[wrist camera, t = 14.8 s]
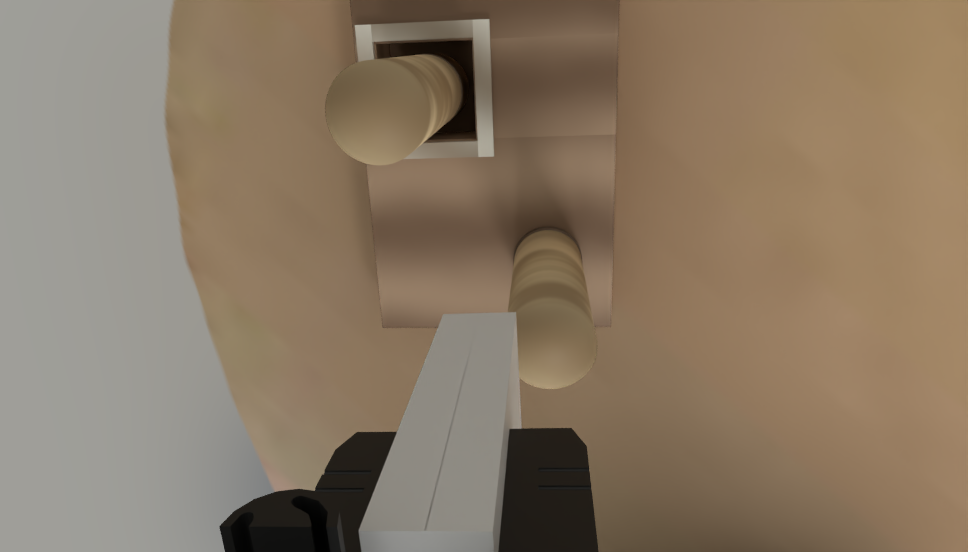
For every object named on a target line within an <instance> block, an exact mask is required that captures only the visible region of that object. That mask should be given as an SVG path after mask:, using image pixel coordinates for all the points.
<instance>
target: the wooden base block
mask: <svg viewBox="0 0 968 552" xmlns="http://www.w3.org/2000/svg"><path fill="white" fill-rule="evenodd" d="M350 7H351V17H352V27H353V37H354V47H355V57H356V63H357V62H360V61H364V60H373V59H383V58H390V49H389V44H397V43H420V42H442V41H465V40H472V54H473V77H474V100H475V122H476V131H475V132H443V133H434V134H433V135H432V136H431V137H430V138H428V139H427V140H426V141H425V142H424V143H423V144H421V145H420V146H419V147H418V148H417V149H416V150H414V151H413V152H412V153H411V154H410V155H408V156H407V157H406V158H404V159H402V160H400V161H398V162H396V163H393V164H389V165H370V164H366V167H367V177H368V187H369V197H370V207H371V217H372V227H373V237H374V247H375V257H376V267H377V277H378V287H379V297H380V307H381V317H382V327H383V328H438V326H439V324H440V321H441V319H442V316H443V314H464V313H503V312H516V323H517V343H518V363H519V378H520V379H521V380H522V381H524V382H526V383H527V384H530V385H532V386H535V387H538V388H543V389H558V388H563V387H567V386H570V385H572V384H574V383H576V382H577V381H579V380H580V379H582V378H583V377H584V376H585V375H586V374H587V373H588V372H589V370H590V369H591V367H592V366H593V364H594V361H595V359H596V355H597V339H596V334H595V328H594V327H611V312H612V272H613V233H614V194H615V154H616V115H617V76H618V36H619V0H350Z"/></svg>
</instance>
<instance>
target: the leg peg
mask: <svg viewBox="0 0 968 552" xmlns="http://www.w3.org/2000/svg"><path fill="white" fill-rule="evenodd" d="M468 92H469V84H468V79H467V76H466V73H465V71H464V69H463V68H462V67H461V65H460V64H459V63H458V62H457V61H456V60H454V59H453V58H451V57H449V56H447V55H444V54H439V53H431V54H418V55H412V56H402V57H393V58H383V59H373V60H364V61H360V62H357V63H355V64H352V65H350V66H349V67H347V68H345V69H344V70H343V71H342V72H341V73H340V74H339V75H338V76H337V77H336V78H335V80H334V81H333V83H332V85H331V87H330V88H329V91H328V94H327V98H326V106H325V113H326V120H327V124H328V128H329V130H330V133H331V135H332V137H333V138H334V140H335V142H336V143H337V144H338V145H339V147H340V148H341V149H342V150H343V151H344V152H345V153H347V154H348V155H349V156H351V157H352V158H354V159H356V160H358V161H360V162H363V163H366V164H370V165H389V164H393V163H396V162H398V161H400V160H402V159H404V158H406V157H407V156H408V155H410V154H411V153H412V152H413V151H414V150H416V149H417V148H418V147H419V146H420V145H421V144H423V143H424V142H425V141H426V140H427V139H428V138H430V137H431V136H432V135H433V134H434V133H435V132H437V131H438V130H439V129H440V128H441V127H442V126H444V125H445V124H446V123H448V122H449V121H450V120H451V119H452V118H453V117H454V116H455V115H457V114H458V113H459V112H460V111H461V109H462V108H463V107H464V105H465V103H466V101H467V97H468Z"/></svg>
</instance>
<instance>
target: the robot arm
mask: <svg viewBox="0 0 968 552" xmlns="http://www.w3.org/2000/svg"><path fill="white" fill-rule="evenodd" d="M220 531H221V535H222V539H223V544H224V549H225V552H598V544H597V535H596V526H595V517H594V508H593V499H592V491H591V482H590V473H589V464H588V455H587V446H586V445H585V444H584V443H583V441H582V440H581V439H580V438H579V437H578V435H577V434H576V433H575V432H574V431H573V430H572V428H537V429H522V424H521V404H520V383H519V363H518V343H517V323H516V312H503V313H464V314H443V316H442V319H441V321H440V324H439V326H438V329H437V331H436V334H435V336H434V339H433V342H432V344H431V347H430V349H429V352H428V354H427V357H426V359H425V362H424V365H423V367H422V370H421V372H420V375H419V377H418V380H417V382H416V385H415V388H414V390H413V393H412V395H411V398H410V400H409V403H408V405H407V408H406V411H405V413H404V416H403V418H402V421H401V423H400V426H399V428H398V431H397V432H357V433H355V434H354V435H353V436H352V437H351V438H349V439H348V440H347V441H346V442H345V443H343V444H342V445H341V446H340V447H338V448H337V449H336V450H335V452H334V454H333V456H332V457H331V459H330V461H329V463H328V465H327V467H326V469H325V473H324V475H322V476H321V478H320V480H319V482H318V484H317V486H316V488H315V491H311V490H303V489H294V490H286V491H278V492H274V493H271V494H268V495H265V496H263V497H260V498H257V499H254V500H252V501H251V502H249V503H247V504H246V505H244V506H242V507H241V508H239V509H237V510H236V511H234V512H233V513H232V514H231V515H230V516H229V517H228V518H227V519H226V520H225V521H224V522H223V523H222V524H221V526H220Z"/></svg>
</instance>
